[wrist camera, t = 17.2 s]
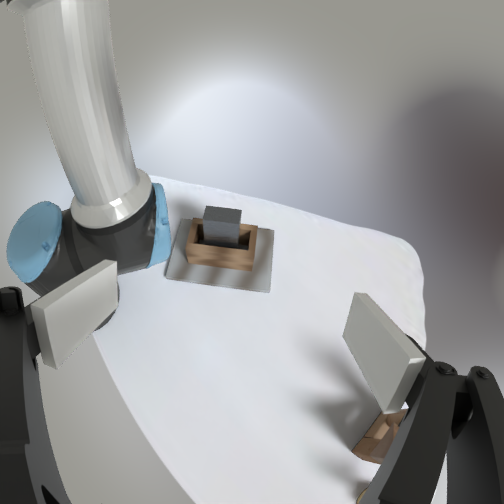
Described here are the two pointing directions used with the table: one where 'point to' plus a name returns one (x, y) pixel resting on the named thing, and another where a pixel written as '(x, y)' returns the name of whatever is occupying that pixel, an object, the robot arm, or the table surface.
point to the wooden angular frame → (379, 437)
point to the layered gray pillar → (221, 227)
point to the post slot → (223, 258)
